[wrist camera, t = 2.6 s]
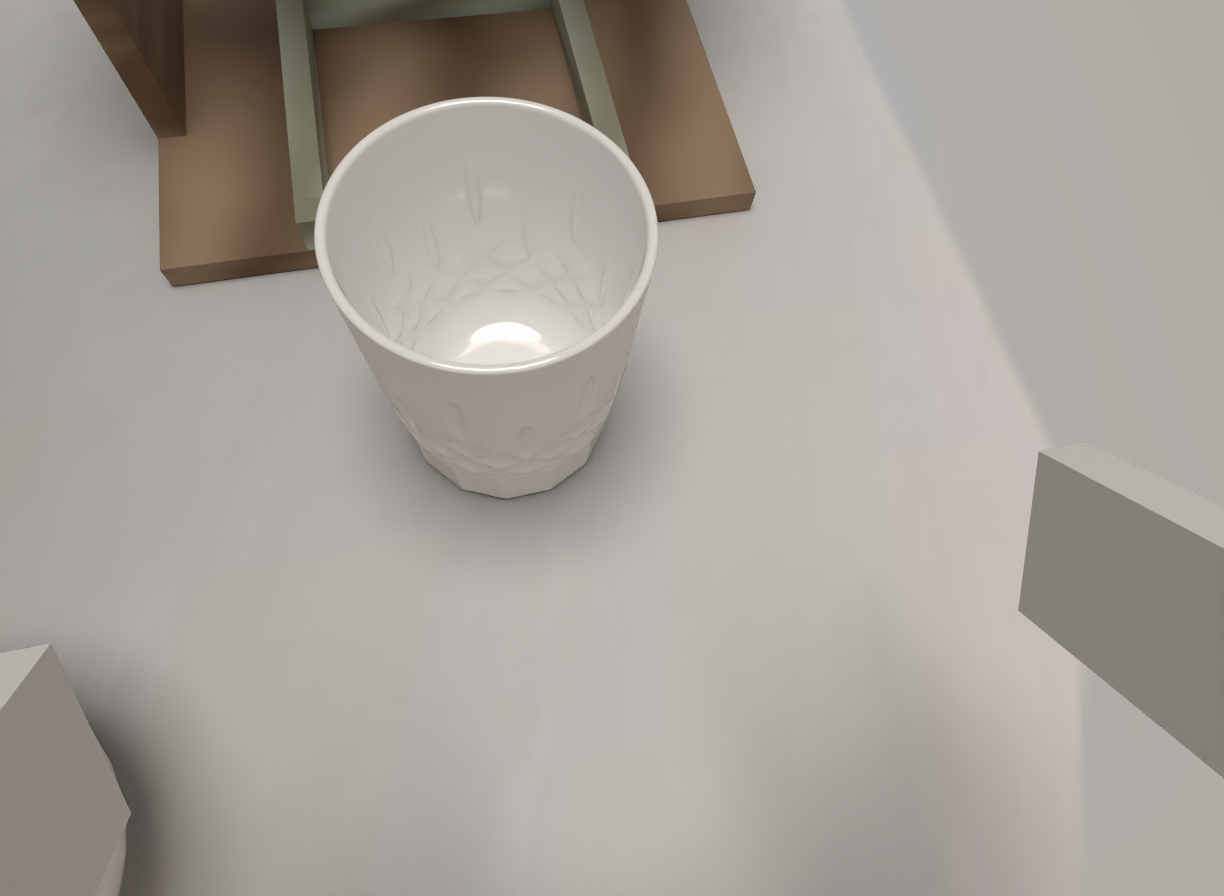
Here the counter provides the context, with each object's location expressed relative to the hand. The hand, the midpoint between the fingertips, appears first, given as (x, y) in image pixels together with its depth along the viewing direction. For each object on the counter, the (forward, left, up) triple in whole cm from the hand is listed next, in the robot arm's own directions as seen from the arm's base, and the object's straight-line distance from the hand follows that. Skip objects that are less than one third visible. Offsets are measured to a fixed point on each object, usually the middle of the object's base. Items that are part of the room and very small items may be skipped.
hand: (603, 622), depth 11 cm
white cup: (0, +10, -14) cm, 18 cm away
